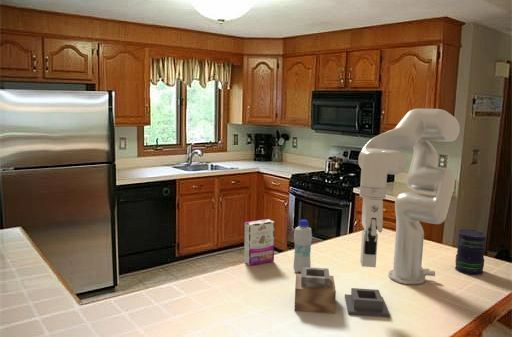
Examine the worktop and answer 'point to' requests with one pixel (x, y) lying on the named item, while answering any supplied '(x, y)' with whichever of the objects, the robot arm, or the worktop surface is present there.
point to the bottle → (302, 246)
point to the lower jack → (366, 303)
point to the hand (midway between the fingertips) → (368, 251)
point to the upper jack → (315, 291)
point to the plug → (367, 259)
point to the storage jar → (470, 252)
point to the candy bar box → (259, 242)
